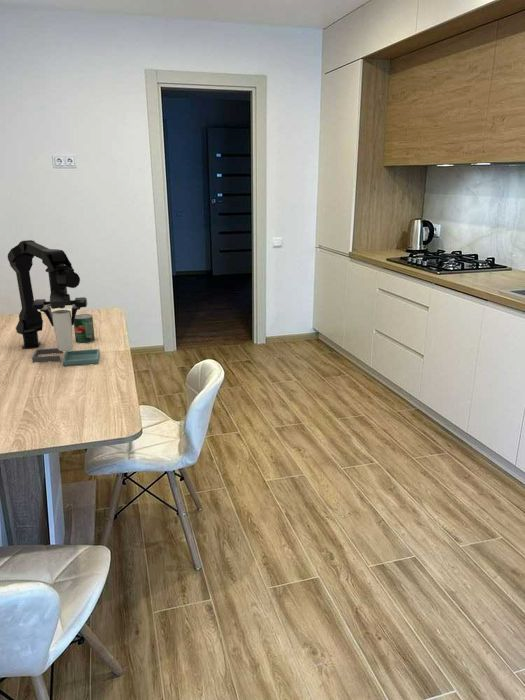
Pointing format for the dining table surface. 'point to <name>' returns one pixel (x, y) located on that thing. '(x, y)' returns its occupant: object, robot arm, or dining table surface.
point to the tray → (81, 357)
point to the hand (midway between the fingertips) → (62, 325)
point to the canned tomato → (84, 328)
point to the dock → (46, 358)
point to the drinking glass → (63, 329)
